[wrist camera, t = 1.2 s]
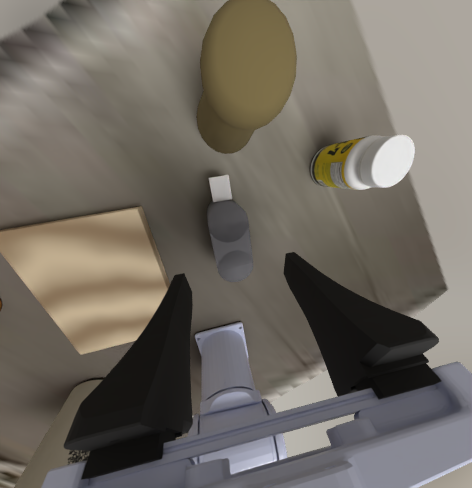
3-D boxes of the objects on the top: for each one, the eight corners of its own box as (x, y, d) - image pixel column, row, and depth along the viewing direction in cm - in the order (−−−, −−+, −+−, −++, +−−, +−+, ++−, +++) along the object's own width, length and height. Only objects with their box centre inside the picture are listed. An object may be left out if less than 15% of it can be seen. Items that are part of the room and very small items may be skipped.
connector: (244, 258, 25) (254, 277, 20) (217, 264, 24) (221, 285, 20) (233, 173, 20) (242, 173, 15) (199, 178, 20) (198, 180, 15)
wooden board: (183, 320, 27) (182, 328, 25) (87, 344, 25) (80, 354, 24) (141, 206, 19) (137, 208, 18) (2, 229, 18) (-14, 234, 16)
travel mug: (91, 412, 31) (-36, 687, 14) (60, 389, 27) (-153, 713, 11) (134, 395, 31) (60, 643, 15) (109, 370, 28) (-25, 655, 11)
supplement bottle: (341, 138, 21) (423, 118, 13) (345, 177, 23) (418, 179, 15) (305, 154, 21) (366, 142, 13) (312, 191, 23) (369, 201, 15)
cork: (229, 166, 20) (258, 157, 10) (184, 122, 17) (160, 51, 7) (265, 120, 19) (339, 57, 9) (222, 67, 16) (255, -104, 6)
